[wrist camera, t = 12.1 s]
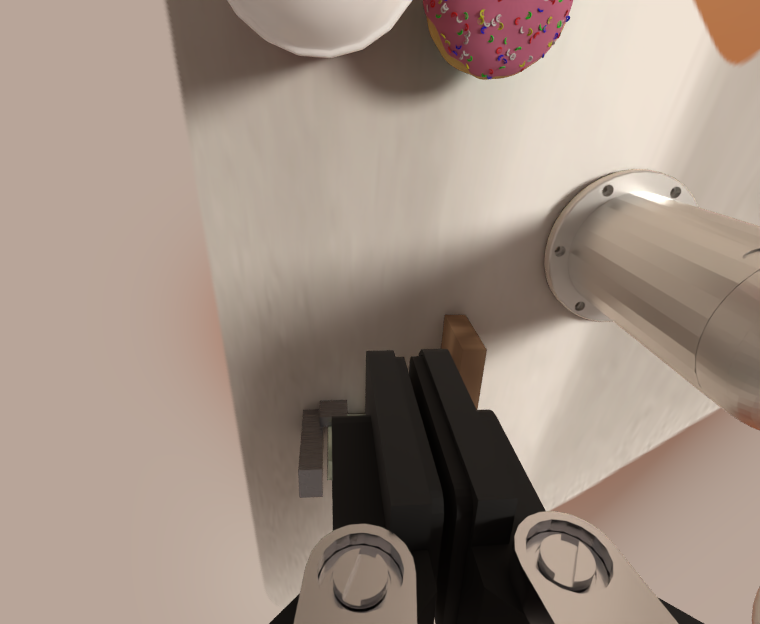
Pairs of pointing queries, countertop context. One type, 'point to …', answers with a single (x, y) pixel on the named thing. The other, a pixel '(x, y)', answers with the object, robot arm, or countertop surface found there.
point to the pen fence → (465, 352)
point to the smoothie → (320, 23)
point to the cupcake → (495, 33)
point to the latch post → (315, 446)
